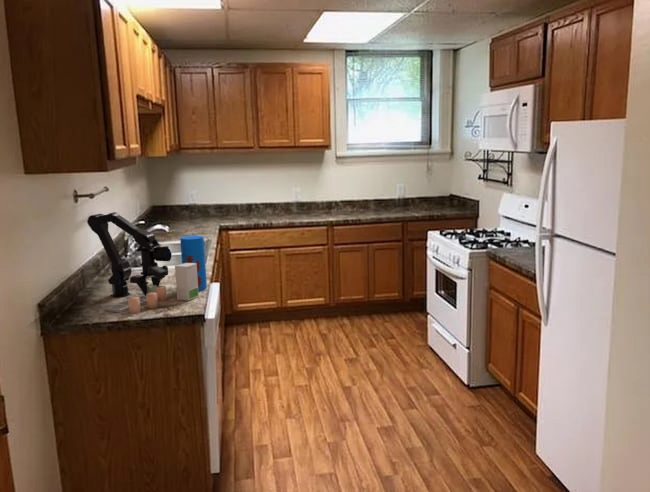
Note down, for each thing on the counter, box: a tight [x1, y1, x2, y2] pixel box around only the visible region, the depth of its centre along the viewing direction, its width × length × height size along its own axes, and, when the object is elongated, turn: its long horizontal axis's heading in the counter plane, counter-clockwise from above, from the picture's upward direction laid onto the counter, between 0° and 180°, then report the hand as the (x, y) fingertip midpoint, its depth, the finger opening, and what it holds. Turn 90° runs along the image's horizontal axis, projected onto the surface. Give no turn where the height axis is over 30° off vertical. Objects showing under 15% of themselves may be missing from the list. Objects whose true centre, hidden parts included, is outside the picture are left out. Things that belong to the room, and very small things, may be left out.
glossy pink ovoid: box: [156, 285, 168, 302], centre depth 241 cm, size 4×4×6 cm
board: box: [104, 296, 147, 314], centre depth 234 cm, size 9×19×1 cm, turn 154°
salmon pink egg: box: [145, 292, 159, 310], centre depth 231 cm, size 4×4×6 cm
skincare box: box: [174, 263, 200, 301], centre depth 243 cm, size 8×7×16 cm
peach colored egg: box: [127, 296, 142, 314], centre depth 225 cm, size 4×4×6 cm
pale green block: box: [144, 284, 157, 298], centre depth 248 cm, size 4×4×5 cm
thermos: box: [179, 235, 208, 292], centre depth 258 cm, size 11×11×25 cm
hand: (151, 294), depth 248 cm, fingers open, 6 cm apart
